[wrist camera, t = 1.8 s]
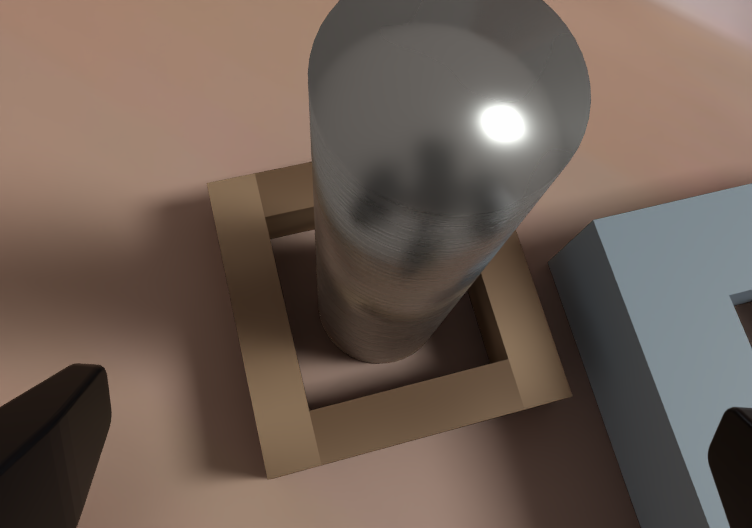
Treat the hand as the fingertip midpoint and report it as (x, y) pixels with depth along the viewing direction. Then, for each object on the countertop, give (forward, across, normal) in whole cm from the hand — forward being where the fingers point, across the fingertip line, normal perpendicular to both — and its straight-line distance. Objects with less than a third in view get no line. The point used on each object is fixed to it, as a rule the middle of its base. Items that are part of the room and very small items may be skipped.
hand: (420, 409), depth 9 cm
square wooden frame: (+11, 0, +5) cm, 12 cm away
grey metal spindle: (+11, 0, +5) cm, 12 cm away
